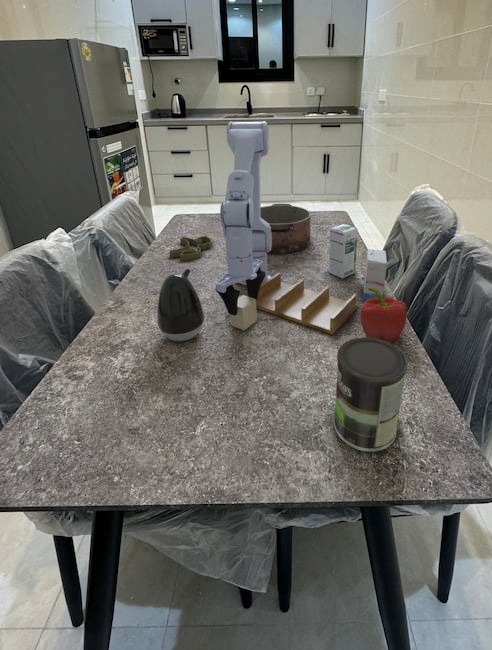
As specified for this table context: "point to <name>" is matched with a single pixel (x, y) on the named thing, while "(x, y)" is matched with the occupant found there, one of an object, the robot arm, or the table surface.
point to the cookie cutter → (189, 253)
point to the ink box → (375, 273)
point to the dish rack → (304, 304)
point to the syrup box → (342, 250)
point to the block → (244, 313)
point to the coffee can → (368, 393)
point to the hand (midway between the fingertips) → (243, 306)
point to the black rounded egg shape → (179, 308)
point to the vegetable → (383, 317)
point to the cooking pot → (287, 227)
